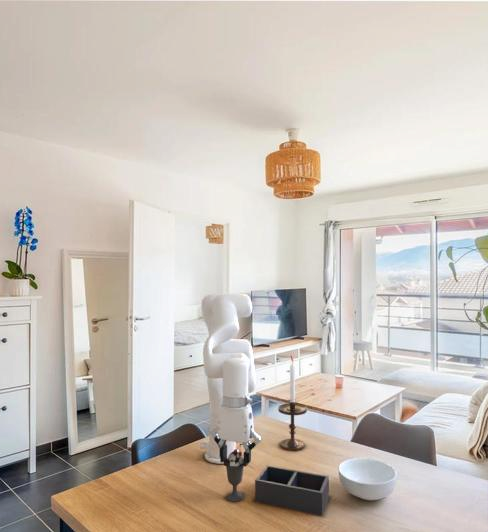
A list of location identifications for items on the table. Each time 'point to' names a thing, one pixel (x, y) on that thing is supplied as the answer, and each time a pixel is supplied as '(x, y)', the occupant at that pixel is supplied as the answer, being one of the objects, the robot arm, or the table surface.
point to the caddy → (292, 489)
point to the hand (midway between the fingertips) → (235, 461)
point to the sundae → (234, 473)
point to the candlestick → (292, 414)
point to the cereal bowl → (367, 478)
